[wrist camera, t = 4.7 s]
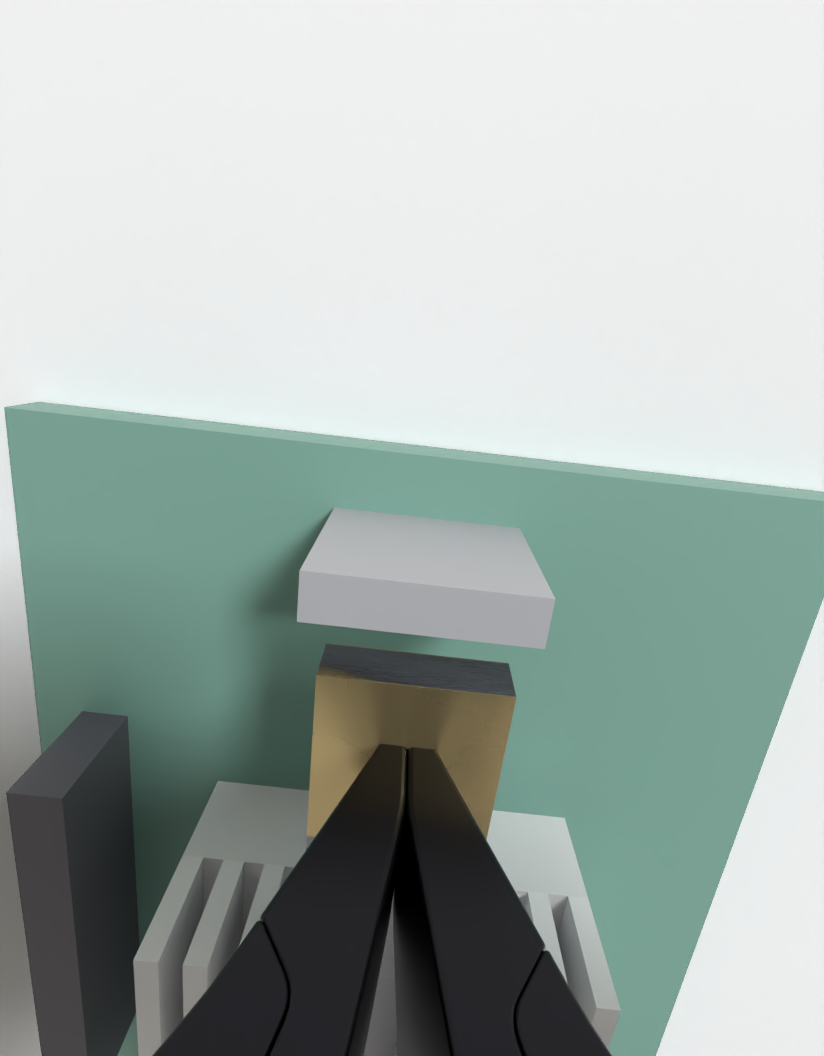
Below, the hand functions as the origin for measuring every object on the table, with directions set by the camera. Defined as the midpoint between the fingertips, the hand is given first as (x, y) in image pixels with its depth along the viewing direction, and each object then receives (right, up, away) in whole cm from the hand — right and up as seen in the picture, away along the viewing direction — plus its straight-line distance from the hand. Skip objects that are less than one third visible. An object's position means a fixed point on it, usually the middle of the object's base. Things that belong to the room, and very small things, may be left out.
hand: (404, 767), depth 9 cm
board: (-1, -5, +6) cm, 8 cm away
